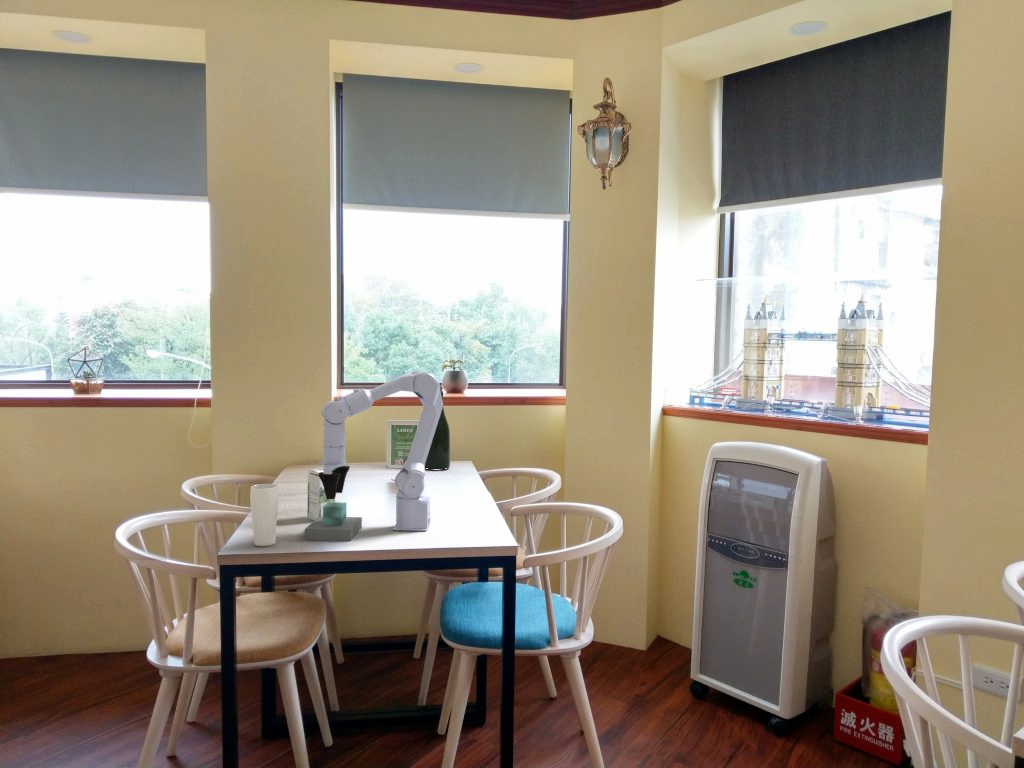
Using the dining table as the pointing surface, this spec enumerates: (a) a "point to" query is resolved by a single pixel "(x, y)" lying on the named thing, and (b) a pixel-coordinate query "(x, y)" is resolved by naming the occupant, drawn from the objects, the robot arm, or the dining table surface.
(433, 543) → the dining table surface
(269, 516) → the drinking glass
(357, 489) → the dining table surface
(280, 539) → the dining table surface
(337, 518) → the teal cube
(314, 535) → the gray square slab
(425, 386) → the robot arm
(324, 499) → the syrup box
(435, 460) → the dark green bottle
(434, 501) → the dining table surface
